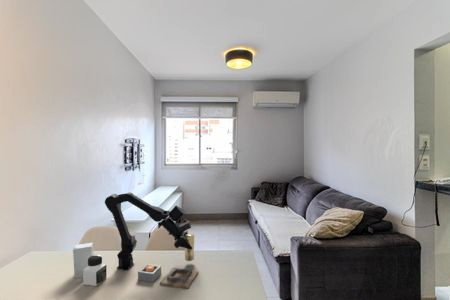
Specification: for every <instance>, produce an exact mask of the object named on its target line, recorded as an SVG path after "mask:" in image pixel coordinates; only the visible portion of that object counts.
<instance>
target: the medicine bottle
mask: <svg viewBox="0 0 450 300" xmlns="http://www.w3.org/2000/svg"><path fill="white" fill-rule="evenodd" d="M82 278H83V282H82V283H83V285H84V286H85V285H86V286H93V287H97V286H99V285H100V284H101V283H103V282H104V281H105V280H106V279H107V264H106V263H103V256H102V255H101V254H95V255H93V256H91V257H89V258H88V267H87V268H85V269H84V270H83V277H82Z"/></svg>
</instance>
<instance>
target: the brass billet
mask: <svg viewBox="0 0 450 300" xmlns="http://www.w3.org/2000/svg"><path fill="white" fill-rule="evenodd" d="M185 237H187V241H188V243H189V244H190V245H191V247H192V249H191V250H190V249H187V248H184V260H185V261H186V262H192V261H194V260H195V234H194V233H188V234H186V235H185Z"/></svg>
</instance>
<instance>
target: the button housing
mask: <svg viewBox="0 0 450 300" xmlns="http://www.w3.org/2000/svg"><path fill="white" fill-rule="evenodd" d="M150 265H152V266H154V271H153V272H146V267H147V266H150ZM160 275H162V265H158V264H152V263H151V264H150V263H146V264H145V265H144V266H143V267H141V269H139V270H138V271H137V280H138V281H142V282H148V283H154V282H155V281H156V280H157V279H158V278H159V277H160Z"/></svg>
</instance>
